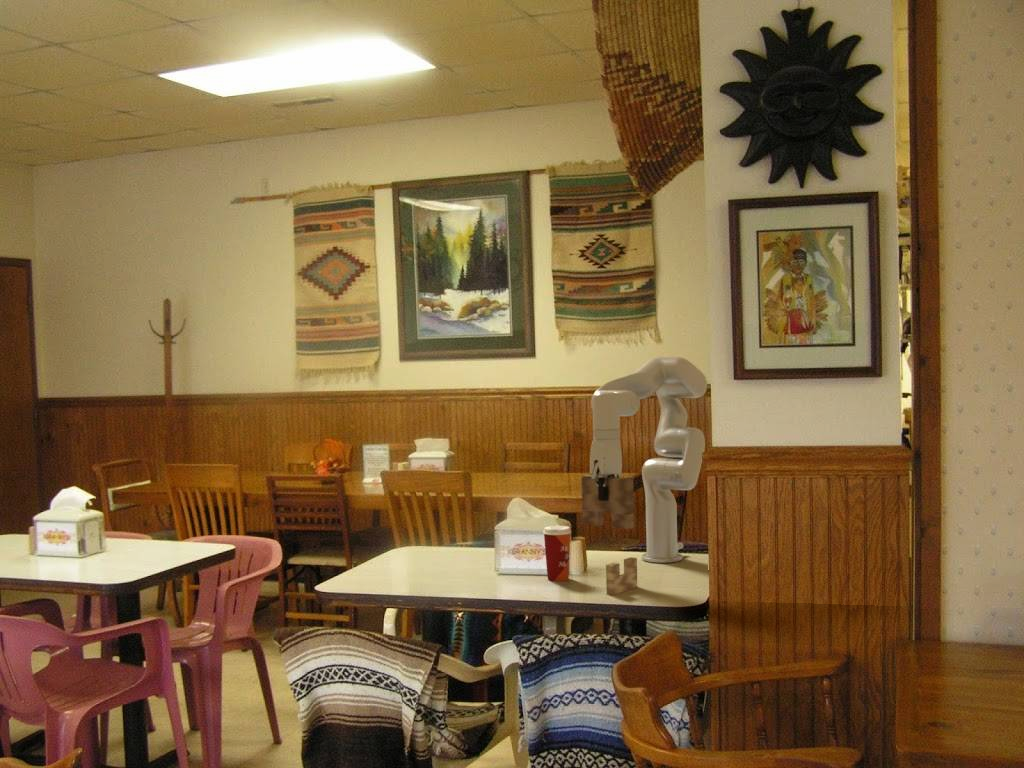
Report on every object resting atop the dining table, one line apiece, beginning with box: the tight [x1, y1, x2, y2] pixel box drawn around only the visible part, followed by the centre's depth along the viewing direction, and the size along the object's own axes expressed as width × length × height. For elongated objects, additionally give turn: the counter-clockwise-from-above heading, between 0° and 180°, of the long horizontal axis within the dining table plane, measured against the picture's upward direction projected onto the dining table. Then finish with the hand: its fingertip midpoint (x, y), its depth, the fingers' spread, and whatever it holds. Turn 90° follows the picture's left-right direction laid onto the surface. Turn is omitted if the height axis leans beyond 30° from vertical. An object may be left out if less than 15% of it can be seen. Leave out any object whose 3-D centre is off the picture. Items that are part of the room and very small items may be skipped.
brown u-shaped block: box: [605, 556, 638, 596], centre depth 289 cm, size 12×2×8 cm, turn 140°
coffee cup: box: [542, 525, 572, 582], centre depth 305 cm, size 8×8×15 cm
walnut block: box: [581, 474, 635, 530], centre depth 302 cm, size 16×3×14 cm, turn 49°
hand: (607, 498), depth 302 cm, fingers closed on walnut block, 3 cm apart
